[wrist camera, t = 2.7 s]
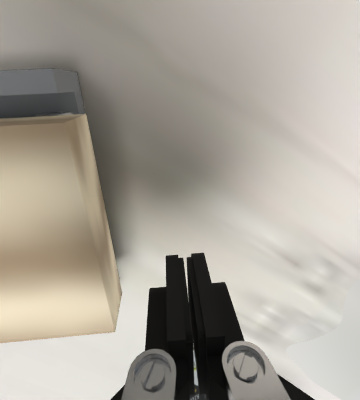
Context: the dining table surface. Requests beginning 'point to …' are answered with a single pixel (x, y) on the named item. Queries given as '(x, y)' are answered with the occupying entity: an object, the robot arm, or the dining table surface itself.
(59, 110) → the roller track
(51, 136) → the oak slab
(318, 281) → the dining table surface
